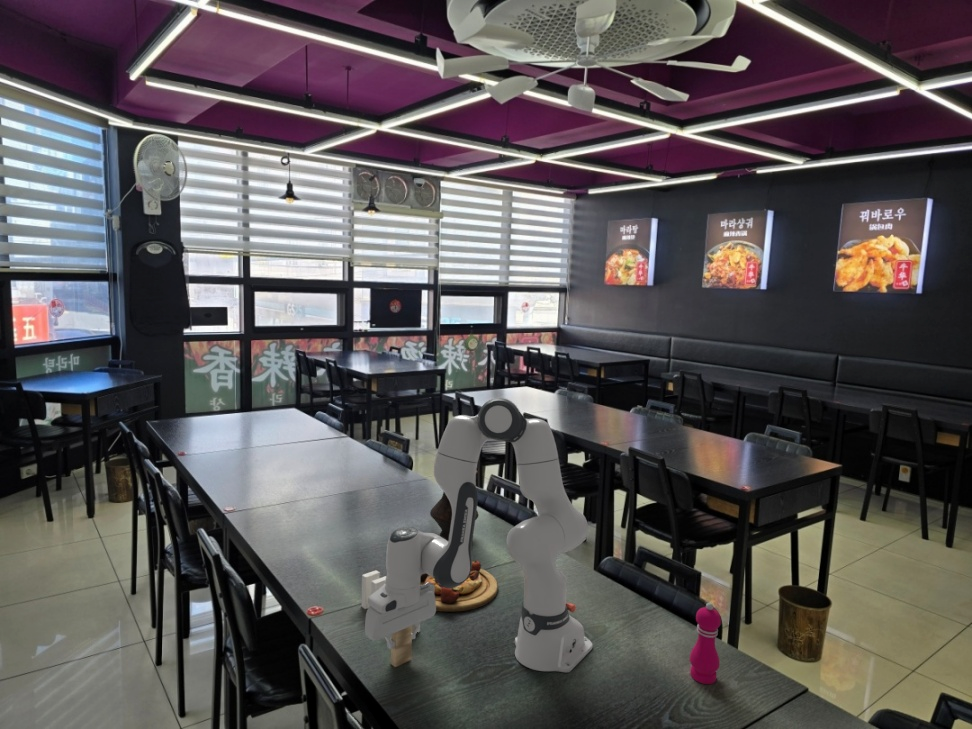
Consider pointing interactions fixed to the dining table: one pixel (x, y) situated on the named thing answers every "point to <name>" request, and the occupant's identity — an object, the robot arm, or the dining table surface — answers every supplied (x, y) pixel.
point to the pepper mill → (705, 646)
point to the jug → (444, 515)
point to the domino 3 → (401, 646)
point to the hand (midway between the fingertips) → (401, 642)
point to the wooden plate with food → (464, 591)
